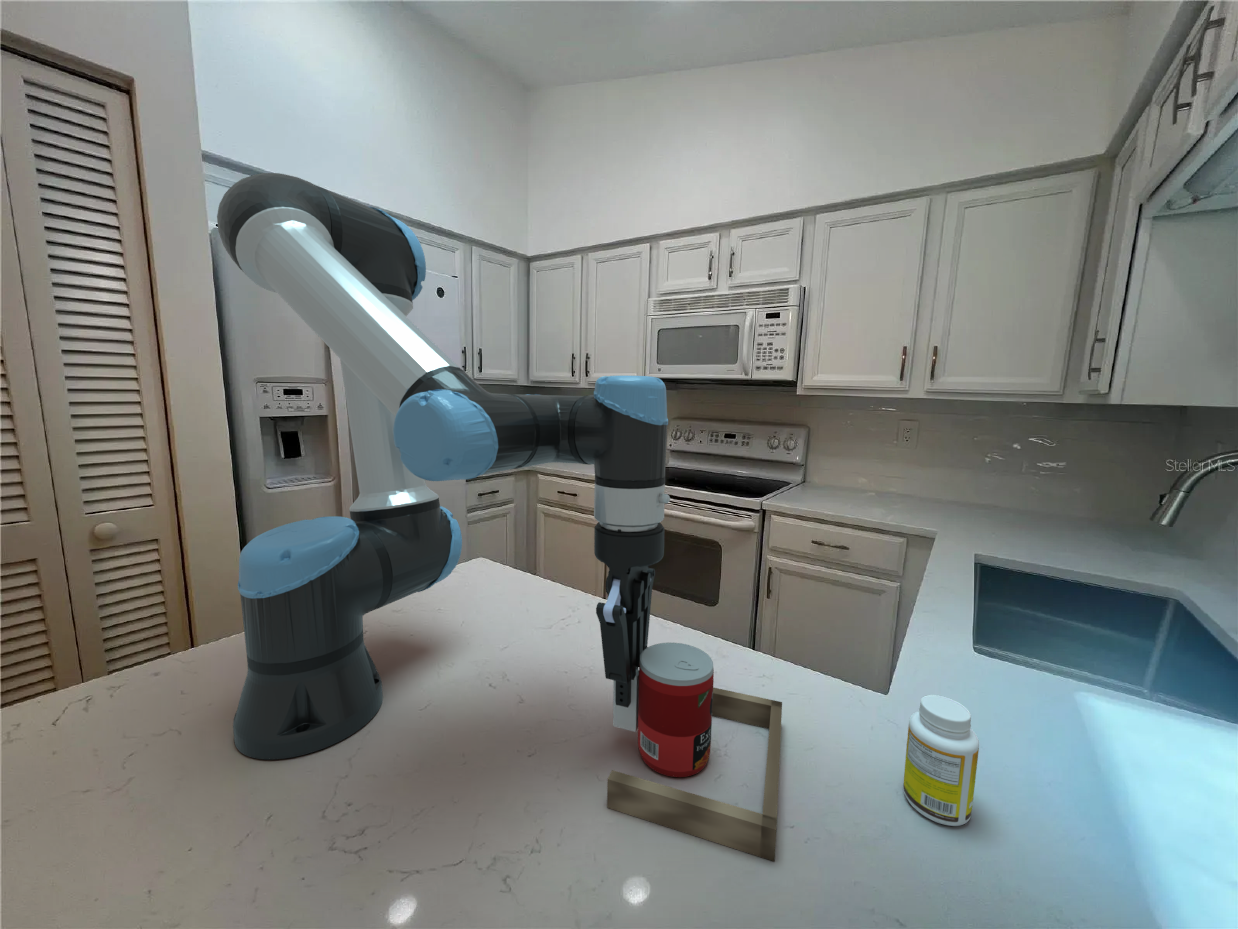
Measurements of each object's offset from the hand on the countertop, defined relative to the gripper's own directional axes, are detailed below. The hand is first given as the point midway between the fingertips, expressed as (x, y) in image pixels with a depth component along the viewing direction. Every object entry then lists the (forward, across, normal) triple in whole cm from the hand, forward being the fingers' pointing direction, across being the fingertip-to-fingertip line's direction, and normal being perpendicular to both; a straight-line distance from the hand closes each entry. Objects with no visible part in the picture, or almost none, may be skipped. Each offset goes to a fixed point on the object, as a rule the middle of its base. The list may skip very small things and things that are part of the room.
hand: (626, 724), depth 54 cm
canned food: (+2, 0, -6) cm, 6 cm away
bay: (+2, 0, -10) cm, 10 cm away
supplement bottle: (+2, +2, -31) cm, 31 cm away
